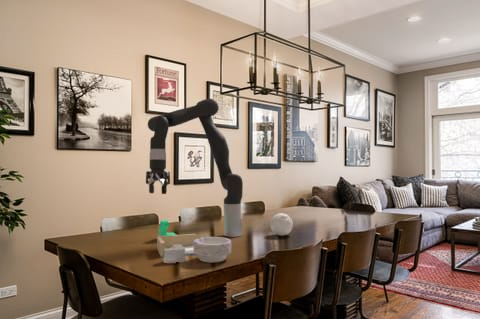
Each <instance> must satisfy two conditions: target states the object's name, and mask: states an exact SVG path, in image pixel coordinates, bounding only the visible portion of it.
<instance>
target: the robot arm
mask: <svg viewBox="0 0 480 319" xmlns="http://www.w3.org/2000/svg"><path fill="white" fill-rule="evenodd" d="M219 108H220V107H219V104H218V102H217V101H216V100H215V99H213V98H206V99H202V100H201V101H198V102H196V104H195V105H192V106H189V107H188V106H187V107H185V108H181V109H177V110H173V111H171V112H168V113H165V114H160V115H156V116H153V117H151V118H149V119H148V120H147V128H148V129H149V131H151V132H154V134H153V136H151V137H150V141H149V143H150V148H149V169H150V170H147V171H146V172H145V184H147V185H148V192H149V194H155V183H156V182H157V181H158V182H159V183H160V184H161V195H166V194H167V187H168V185H170V184H171V172H170V171H165V170H166V169H167V152H166V150H167V149H166V143H167V142H166V140H167V136H168V133H169V132H168V131H169V128H173V127H176V126H180V125H183V124H186V123H188V122H190V121H193V120H196V119H199V121H200V124H201V126H202V128H203V131H204V133H205V135H206V138H207V142H208V144H209V149H210V151H211V154H212V155H213V158H214V161H215V164H216V167H217V171H218V175H219V180H220V184H221V186H222V188H223V190H226V191H227V194H226V197H225V198H223V236H224V237H231V238H232V237H234V238H235V237H240V236H241V237H242V236H243V217H242V204H241V203H242V199H243V185H244V184H243V179H242V177H241V176H240V175H239V174H237V173H233V172H232V171H233V170H232V168H231V166H230V149H229V145H228V142H227V139H226V137H225V135H224V134H223V133H222V132H221V131H220V129H219V128H217V126H216V125H215V123H214V121H213V118H212V117H213V116H215V115H216V114H217V113H218V111H219Z"/></svg>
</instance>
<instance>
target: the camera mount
mask: <svg viewBox="0 0 480 319" xmlns="http://www.w3.org/2000/svg"><path fill="white" fill-rule="evenodd" d="M159 222H160V223H159V230H158V236H168V235H177V234H176V233H175V232H167V229H169V226H170V225H169V223H170V222H169V219H166V220H165V219H161V220H160V221H159Z"/></svg>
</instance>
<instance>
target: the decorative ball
mask: <svg viewBox="0 0 480 319" xmlns="http://www.w3.org/2000/svg"><path fill="white" fill-rule="evenodd" d="M293 225H294V224H293V219H292V217H290V216H289V214H286V213H282V212H281V213H277V214H275V215H274V216H272V218H271V220H270V229H271V230H272V233H274V234H275V235H276V236H281V237H284V236H286V235H288V234H289V233H291V232H292V230H293Z"/></svg>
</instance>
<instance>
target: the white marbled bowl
mask: <svg viewBox="0 0 480 319" xmlns="http://www.w3.org/2000/svg"><path fill="white" fill-rule="evenodd" d="M193 244H194V247H193V249H194V255H196V256H198V259H199V261H202V262H204V263H214V264H215V263H220V262H224V260H226V258H227V256H228V255H230V254H231V253H232V240H231V239H229V238H226V237H222V236H206V237H200V238H199V237H198V238H197V239H195V240H194V242H193Z"/></svg>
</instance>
